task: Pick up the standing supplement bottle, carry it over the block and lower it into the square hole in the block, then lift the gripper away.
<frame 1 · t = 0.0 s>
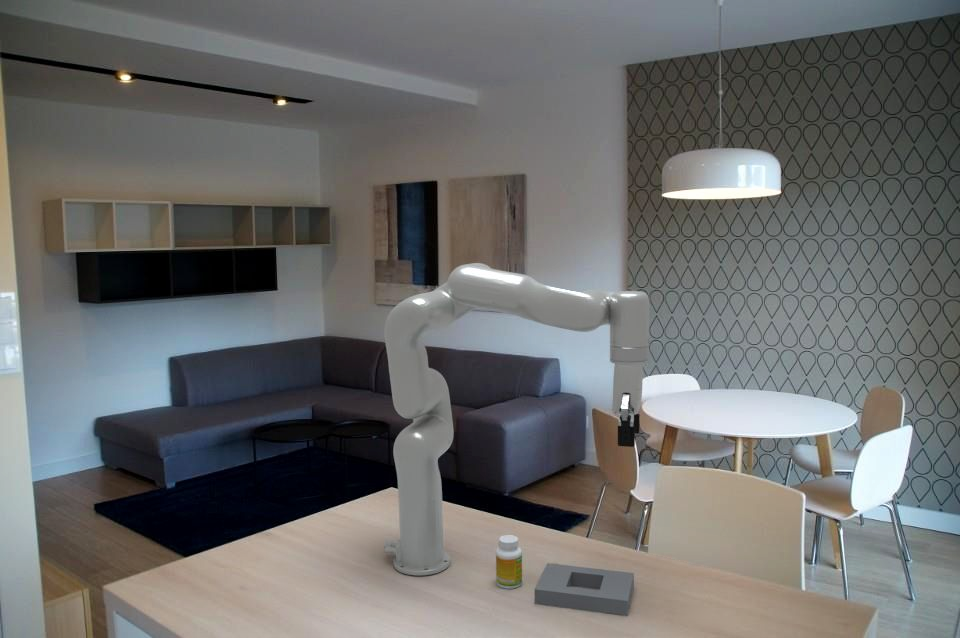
hand: (628, 439, 148), 31 cm above the counter, tool pointing down, fingers open, 9 cm apart
supplement bottle: (509, 584, 155), on the counter
socket block: (585, 595, 149), on the counter
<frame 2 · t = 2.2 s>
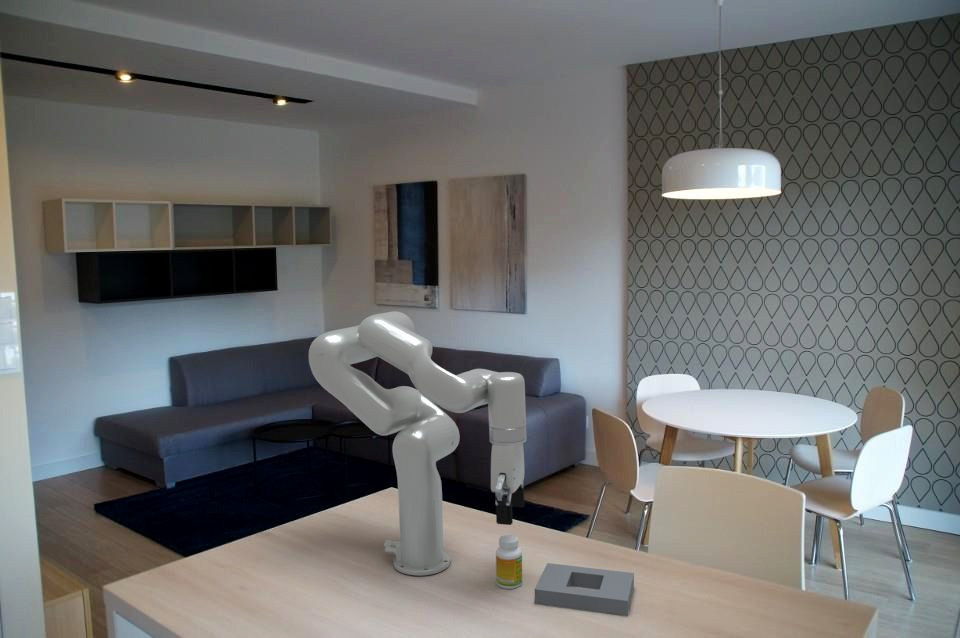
hand: (510, 515, 153), 15 cm above the counter, tool pointing down, fingers open, 9 cm apart
nothing on the counter moved.
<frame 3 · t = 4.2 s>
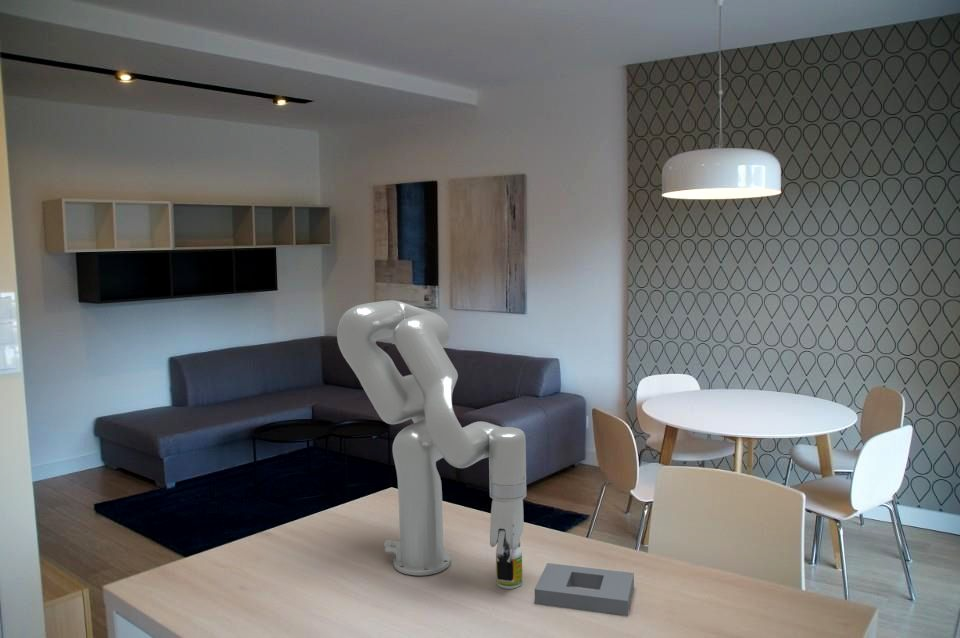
hand: (509, 571, 154), 2 cm above the counter, tool pointing down, fingers closed on supplement bottle, 5 cm apart
supplement bottle: (509, 584, 155), on the counter, touching gripper
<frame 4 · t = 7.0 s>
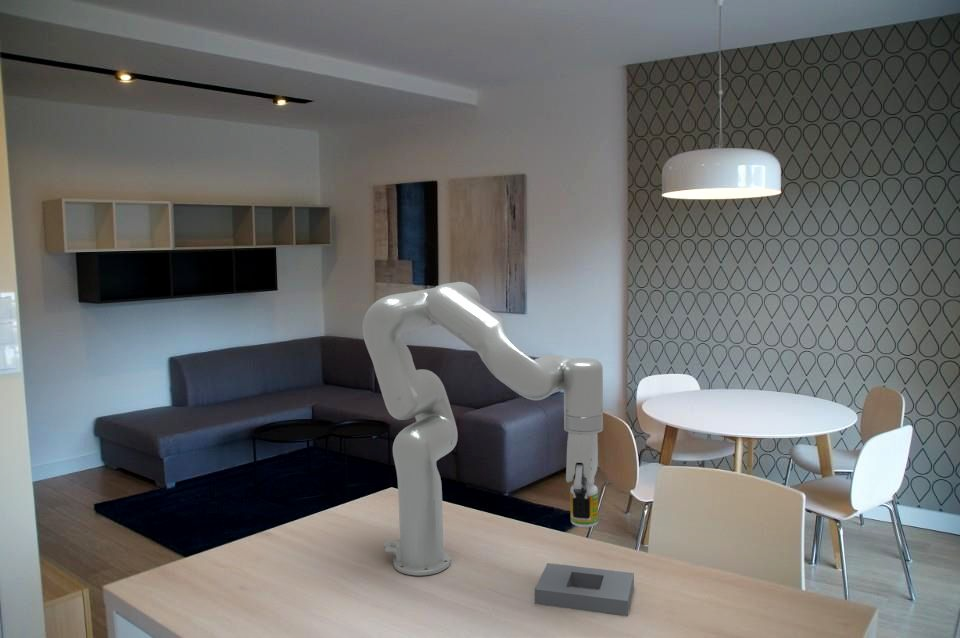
hand: (584, 510, 147), 18 cm above the counter, tool pointing down, fingers closed on supplement bottle, 5 cm apart
supplement bottle: (584, 523, 147), point 15 cm above the counter, touching gripper
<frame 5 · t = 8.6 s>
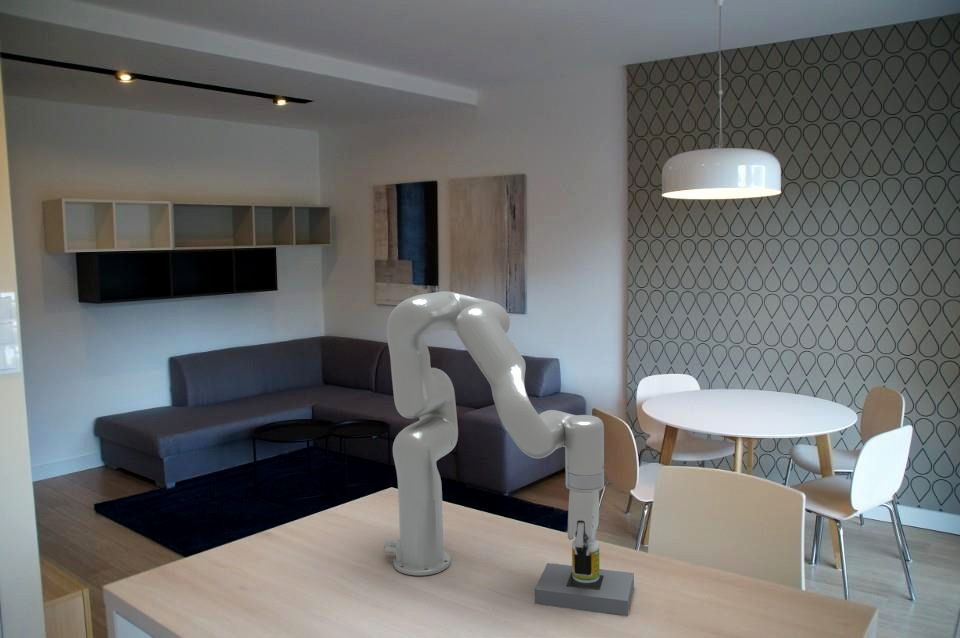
hand: (585, 565, 148), 6 cm above the counter, tool pointing down, fingers closed on supplement bottle, 5 cm apart
supplement bottle: (585, 578, 149), point 4 cm above the counter, touching gripper
when the fingers open (4 cm above the counter, at t = 9.8 s): supplement bottle drops 1 cm, resting in socket block.
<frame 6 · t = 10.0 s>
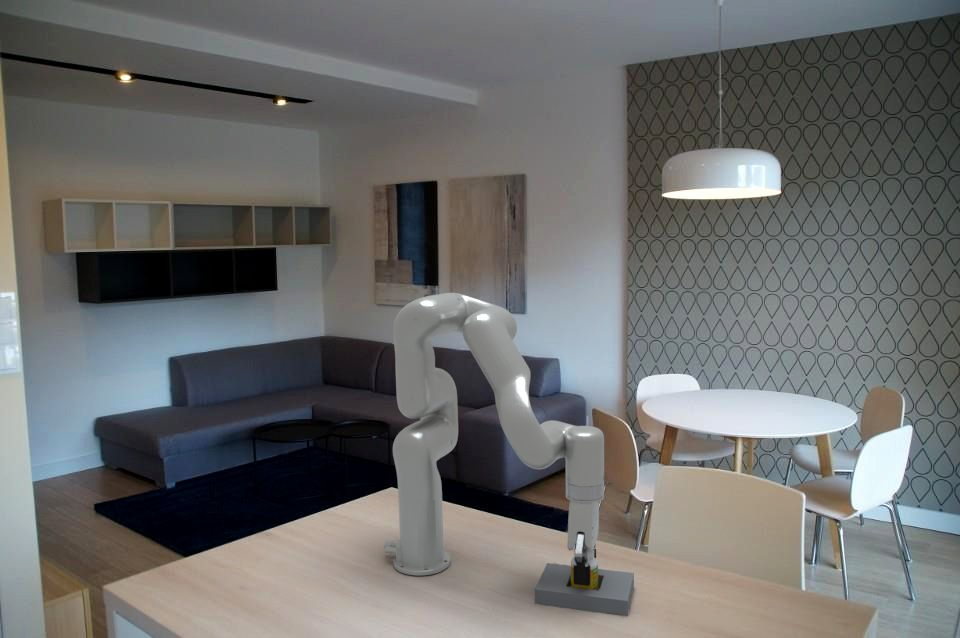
hand: (585, 575, 149), 4 cm above the counter, tool pointing down, fingers open, 7 cm apart
supplement bottle: (584, 595, 149), resting in socket block
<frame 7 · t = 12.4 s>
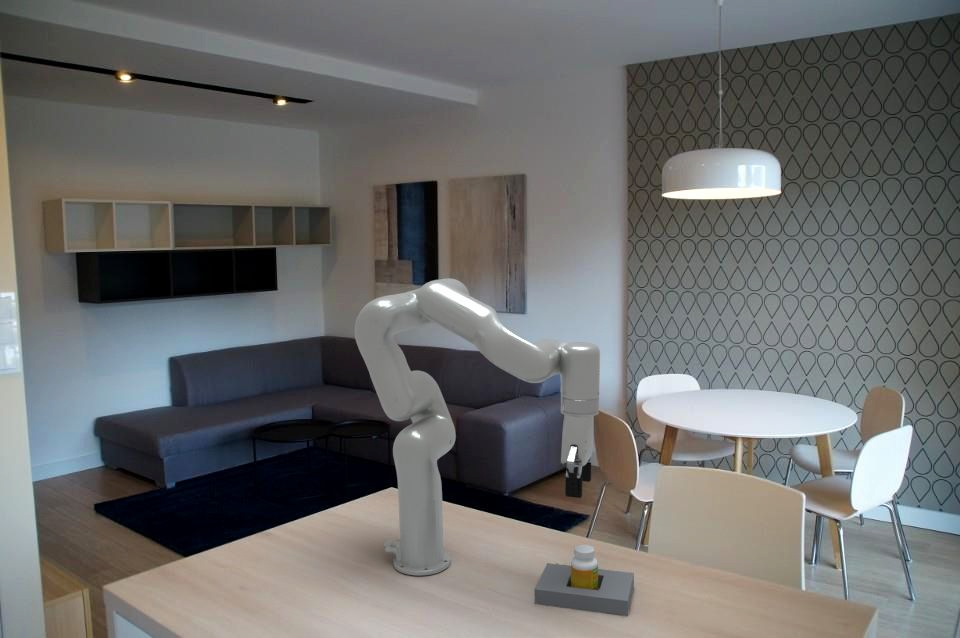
hand: (578, 488, 149), 21 cm above the counter, tool pointing down, fingers open, 9 cm apart
nothing on the counter moved.
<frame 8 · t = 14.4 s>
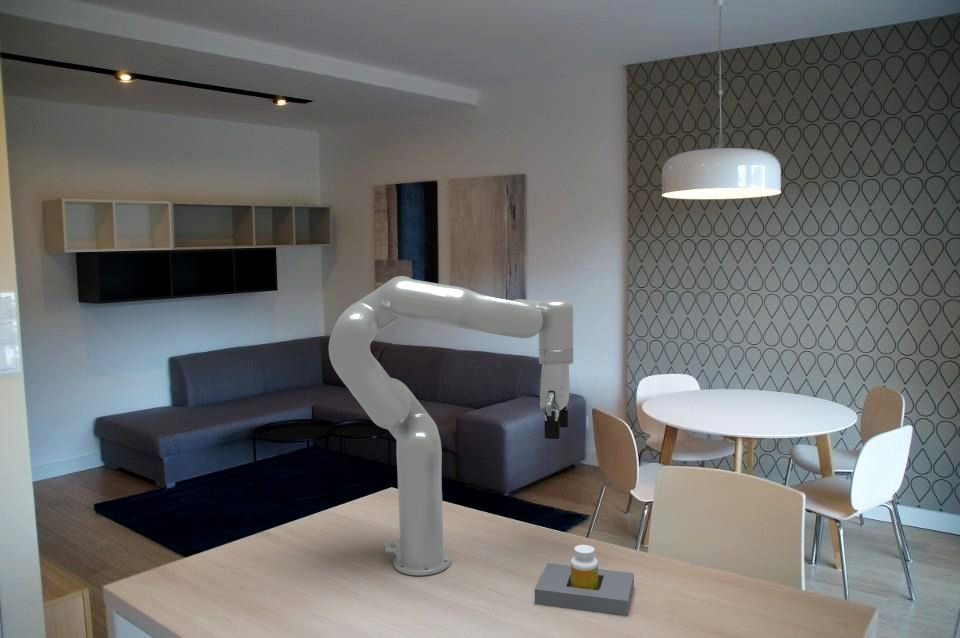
hand: (556, 432, 165), 28 cm above the counter, tool pointing down, fingers open, 9 cm apart
nothing on the counter moved.
at the end: supplement bottle 0.2 cm off-centre on the socket block, point 0.0 cm above the socket block's base; supplement bottle tilted 0°; the gripper is holding nothing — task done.
